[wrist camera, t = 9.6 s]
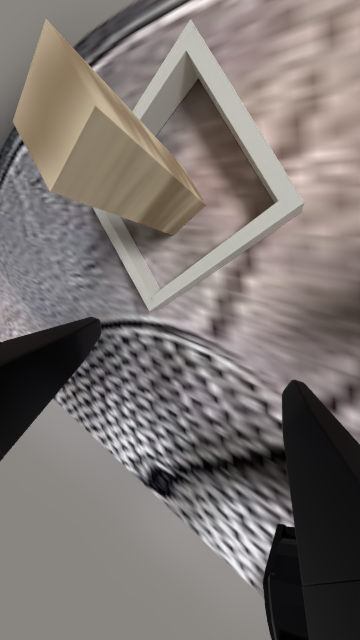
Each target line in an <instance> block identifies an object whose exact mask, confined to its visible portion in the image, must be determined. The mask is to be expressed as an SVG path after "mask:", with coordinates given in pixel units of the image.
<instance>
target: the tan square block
mask: <svg viewBox="0 0 360 640" xmlns="http://www.w3.org/2000/svg"><path fill="white" fill-rule="evenodd" d="M13 123H14V125H15V127H16V128H17V130H18V132H19V134H20V136H21V138H22V140H23V142H24V143H25V145H26V147H27V149H28V151H29V153H30V155H31V156H32V158H33V160H34V162H35V164H36V166H37V168H38V169H39V171H40V173H41V175H42V177H43V179H44V181H45V182H46V184H47V186H48V188H49V190H50V192H53V193H56V194H58V195H61V196H64V197H67V198H70V199H72V200H75V201H78V202H81V203H84V204H86V205H89V206H92V207H95V208H98V209H100V210H103V211H106V212H109V213H111V214H114V215H117V216H120V217H123V218H125V219H128V220H131V221H134V222H137V223H139V224H142V225H145V226H148V227H151V228H153V229H156V230H159V231H162V232H165V233H167V234H170V235H174V234H175V233H176V232H177V231H178V230H180V229H181V228H182V227H183V226H184V225H185V224H186V223H187V222H188V221H189V220H190V219H191V218H193V217H194V216H195V215H196V214H197V213H198V212H199V211H200V210H201V209H202V208H203V207H205V206H206V204H205V203H204V201H203V199H202V198H201V196H200V194H199V193H198V191H197V189H196V187H195V186H194V184H193V182H192V181H191V179H190V177H189V176H188V174H187V172H186V171H185V169H184V167H183V166H182V165H181V164H180V163H179V162H178V161H177V160H176V159H175V158H174V157H173V155H172V154H171V153H170V152H169V151H168V150H167V149H166V148H165V147H164V146H163V145H162V144H161V143H160V141H159V140H158V139H157V138H156V137H155V136H154V135H153V134H152V133H151V132H150V131H149V130H148V128H147V127H146V126H145V125H144V124H143V123H142V122H141V121H140V120H139V119H138V118H137V117H136V116H135V114H134V113H133V112H132V111H131V110H130V109H129V108H128V107H127V106H126V105H125V104H124V103H123V102H122V100H121V99H120V98H119V97H118V96H117V95H116V94H115V93H114V92H113V91H112V90H111V89H110V88H109V86H108V85H107V84H106V83H105V82H104V81H103V80H102V79H101V78H100V77H99V76H98V75H97V74H96V72H95V71H94V70H93V69H92V68H91V67H90V66H89V65H88V64H87V63H86V62H85V61H84V60H83V58H82V57H81V56H80V55H79V54H78V53H77V52H76V51H75V50H74V49H73V48H72V47H71V46H70V45H69V44H68V43H67V41H66V40H65V39H64V38H63V37H62V36H61V35H60V34H59V33H58V32H57V30H56V29H55V28H54V27H53V26H52V25H51V24H50V23H49V22H48V21H47V20H46V21H45V24H44V27H43V30H42V33H41V36H40V39H39V42H38V45H37V49H36V52H35V55H34V58H33V61H32V64H31V67H30V70H29V73H28V77H27V80H26V83H25V86H24V89H23V92H22V95H21V98H20V101H19V104H18V108H17V111H16V114H15V117H14V120H13Z"/></svg>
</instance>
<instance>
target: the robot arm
mask: <svg viewBox="0 0 360 640" xmlns="http://www.w3.org/2000/svg"><path fill="white" fill-rule="evenodd" d="M100 335H101V324H100V320H99V319H97V318H94V317H89V318H85V319H81V320H78V321H74V322H71V323H67V324H64V325H60V326H56V327H53V328H49V329H46V330H42V331H39V332H35V333H31V334H28V335H24V336H21V337H17V338H14V339H10V340H7V341H3V342H0V461H1V460H2V459H3V457H4V456H5V455H6V454H7V452H8V451H9V450H10V449H11V448H12V446H13V445H14V444H15V443H16V442H17V440H18V439H19V438H20V437H21V436H22V435H23V433H24V432H25V431H26V430H27V429H28V427H29V426H30V425H31V424H32V422H33V421H34V420H35V419H36V418H37V416H38V415H39V414H40V413H41V412H42V411H43V409H44V408H45V407H46V406H47V405H48V403H49V402H50V401H51V400H52V399H53V397H54V396H55V395H56V394H57V393H58V391H59V390H60V389H61V388H62V387H63V386H64V384H65V383H66V382H67V381H68V380H69V378H70V377H71V376H72V375H73V374H74V372H75V371H76V370H77V369H78V368H79V366H80V365H81V364H82V363H83V361H84V360H85V359H86V357H87V356H88V354H89V353H90V351H91V350H92V348H93V347H94V345H95V344H96V342H97V341H98V339H99V338H100ZM282 427H283V439H284V446H285V454H286V462H287V470H288V478H289V486H290V493H291V501H292V509H293V517H294V525H295V527H287V526H285V525H284V524H278V525H277V528H276V532H275V536H274V539H273V543H272V547H271V550H270V554H269V558H268V561H267V565H266V569H265V575H264V579H263V589H264V599H265V608H266V615H267V622H268V626H269V631H270V635H271V638H272V640H360V444H359V443H358V442H357V441H356V440H355V439H354V438H353V437H352V435H351V434H350V433H349V432H348V431H347V430H346V429H345V428H344V427H343V425H342V424H341V423H340V422H339V421H338V420H337V419H336V418H335V417H334V415H333V414H332V413H331V412H330V411H329V410H328V409H327V408H326V407H325V406H324V404H323V403H322V402H321V401H320V400H319V399H318V398H317V397H316V396H315V394H314V393H313V392H312V391H311V390H310V389H309V388H308V387H307V386H306V384H305V383H303V382H300V381H297V380H292V381H291V382H290V383H289V384H288V386H287V387H286V388H285V390H284V391H283V394H282Z"/></svg>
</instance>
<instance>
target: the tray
mask: <svg viewBox="0 0 360 640" xmlns="http://www.w3.org/2000/svg"><path fill="white" fill-rule="evenodd" d="M198 79H199V80H200V82H201V83H202V85H203V87H204V88H205V90H206V92H207V93H208V95H209V97H210V98H211V100H212V101H213V103H214V105H215V106H216V108H217V110H218V111H219V113H220V115H221V116H222V118H223V120H224V121H225V123H226V124H227V126H228V128H229V129H230V131H231V133H232V134H233V136H234V138H235V139H236V141H237V142H238V144H239V146H240V147H241V149H242V151H243V152H244V154H245V156H246V157H247V159H248V160H249V162H250V164H251V165H252V167H253V169H254V170H255V172H256V174H257V175H258V177H259V179H260V180H261V182H262V183H263V185H264V187H265V188H266V190H267V192H268V193H269V195H270V197H271V198H272V200H273V201H274V203H275V204H274V205H273V206H271V207H270V208H269V209H267V210H266V211H265V212H263V213H262V214H261V215H259V216H258V217H257V218H255V219H254V220H253V221H251V222H250V223H249V224H247V225H246V226H245V227H243V228H242V229H241V230H239V231H238V232H237V233H235V234H234V235H233V236H231V237H230V238H229V239H227V240H226V241H225V242H223V243H222V244H221V245H219V246H218V247H217V248H216V249H214V250H213V251H212V252H210V253H209V254H208V255H206V256H205V257H204V258H202V259H201V260H200V261H198V262H197V263H196V264H194V265H193V266H192V267H190V268H189V269H188V270H186V271H185V272H184V273H182V274H181V275H180V276H178V277H177V278H176V279H174V280H173V281H172V282H170V283H169V284H168V285H166V286H165V287H164V288H162V289H160V287H159V286H158V284H157V282H156V280H155V278H154V277H153V275H152V273H151V271H150V269H149V268H148V266H147V264H146V262H145V260H144V258H143V257H142V255H141V253H140V251H139V249H138V248H137V246H136V244H135V242H134V240H133V239H132V237H131V235H130V233H129V231H128V230H127V228H126V226H125V224H124V222H123V221H122V219H121V217H120V216H117V215H114V214H111V213H109V212H106V211H103V210H100V209H98V208H95V207H93V209H94V211H95V213H96V215H97V216H98V218H99V220H100V222H101V224H102V226H103V227H104V229H105V231H106V233H107V235H108V236H109V238H110V240H111V242H112V244H113V246H114V247H115V249H116V251H117V253H118V255H119V257H120V258H121V260H122V262H123V264H124V266H125V268H126V269H127V271H128V273H129V275H130V277H131V279H132V280H133V282H134V284H135V286H136V288H137V290H138V291H139V293H140V295H141V297H142V299H143V301H144V302H145V304H146V306H147V308H148V310H149V311H153V310H156V309H160V308H162V307H164V306H165V305H167V304H168V303H170V302H171V301H173V300H174V299H176V298H177V297H179V296H180V295H181V294H183V293H184V292H186V291H187V290H189V289H190V288H192V287H193V286H195V285H196V284H198V283H199V282H200V281H202V280H203V279H205V278H206V277H208V276H209V275H211V274H212V273H214V272H215V271H217V270H218V269H219V268H221V267H222V266H224V265H225V264H227V263H228V262H230V261H231V260H233V259H234V258H236V257H237V256H238V255H240V254H241V253H243V252H244V251H246V250H247V249H249V248H250V247H252V246H253V245H255V244H256V243H257V242H259V241H260V240H262V239H263V238H265V237H266V236H268V235H269V234H271V233H272V232H274V231H275V230H276V229H278V228H279V227H281V226H282V225H284V224H285V223H287V222H288V221H290V220H291V219H293V218H294V217H296V216H297V215H298V214H300V213H301V212H302V209H303V205H304V201H303V200H302V198H301V196H300V195H299V193H298V191H297V190H296V188H295V187H294V185H293V183H292V182H291V180H290V179H289V177H288V175H287V174H286V172H285V171H284V169H283V167H282V166H281V164H280V162H279V161H278V159H277V158H276V156H275V154H274V153H273V151H272V150H271V148H270V146H269V145H268V143H267V142H266V140H265V138H264V137H263V135H262V133H261V132H260V130H259V129H258V127H257V125H256V124H255V122H254V121H253V119H252V117H251V116H250V114H249V113H248V111H247V109H246V108H245V106H244V104H243V103H242V101H241V100H240V98H239V96H238V95H237V93H236V92H235V90H234V88H233V87H232V85H231V84H230V82H229V80H228V79H227V77H226V75H225V74H224V72H223V71H222V69H221V67H220V66H219V64H218V63H217V61H216V59H215V58H214V56H213V55H212V53H211V51H210V50H209V48H208V46H207V45H206V43H205V42H204V40H203V38H202V37H201V35H200V34H199V32H198V30H197V29H196V27H195V26H194V24H193V22H192V21H191V19H190V21H189V22H188V24H187V26H186V27H185V29H184V30H183V32H182V34H181V35H180V37H179V38H178V40H177V42H176V43H175V45H174V46H173V48H172V49H171V51H170V53H169V54H168V56H167V57H166V59H165V61H164V62H163V64H162V65H161V67H160V69H159V70H158V72H157V73H156V75H155V76H154V78H153V80H152V81H151V83H150V84H149V86H148V88H147V89H146V91H145V92H144V94H143V96H142V97H141V99H140V100H139V102H138V103H137V105H136V107H135V108H134V110H133V111H132V112H133V113H134V114H135V116H136V117H137V118H138V119H139V120H140V121H141V122H142V123H143V124H144V125H145V126H146V127H147V128H148V130H149V131H150V132H151V133H152V134H153V135H154V136H156V135H157V134H158V132H159V131H160V130H161V128H162V127H163V126H164V124H165V123H166V122H167V120H168V119H169V118H170V116H171V115H172V113H173V112H174V111H175V109H176V108H177V107H178V105H179V104H180V103H181V101H182V100H183V99H184V97H185V96H186V95H187V93H188V92H189V90H190V89H191V88H192V86H193V85H194V84H195V82H196V81H197V80H198Z"/></svg>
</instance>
